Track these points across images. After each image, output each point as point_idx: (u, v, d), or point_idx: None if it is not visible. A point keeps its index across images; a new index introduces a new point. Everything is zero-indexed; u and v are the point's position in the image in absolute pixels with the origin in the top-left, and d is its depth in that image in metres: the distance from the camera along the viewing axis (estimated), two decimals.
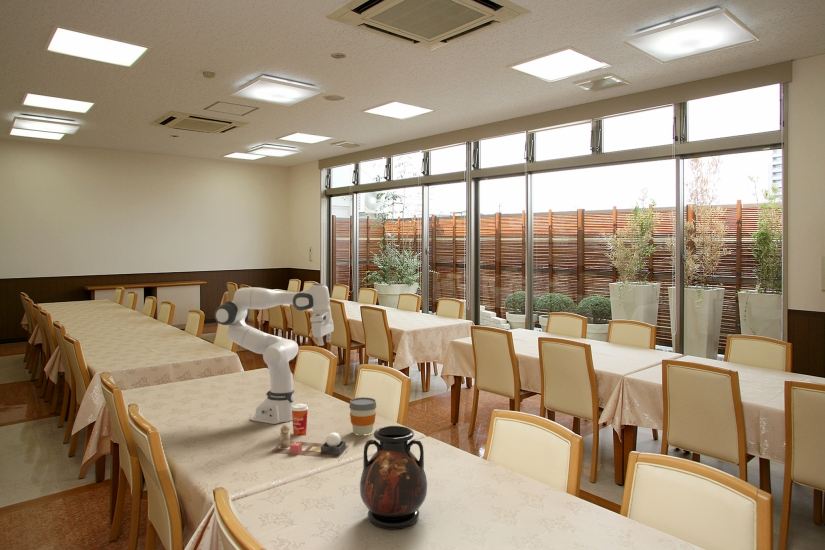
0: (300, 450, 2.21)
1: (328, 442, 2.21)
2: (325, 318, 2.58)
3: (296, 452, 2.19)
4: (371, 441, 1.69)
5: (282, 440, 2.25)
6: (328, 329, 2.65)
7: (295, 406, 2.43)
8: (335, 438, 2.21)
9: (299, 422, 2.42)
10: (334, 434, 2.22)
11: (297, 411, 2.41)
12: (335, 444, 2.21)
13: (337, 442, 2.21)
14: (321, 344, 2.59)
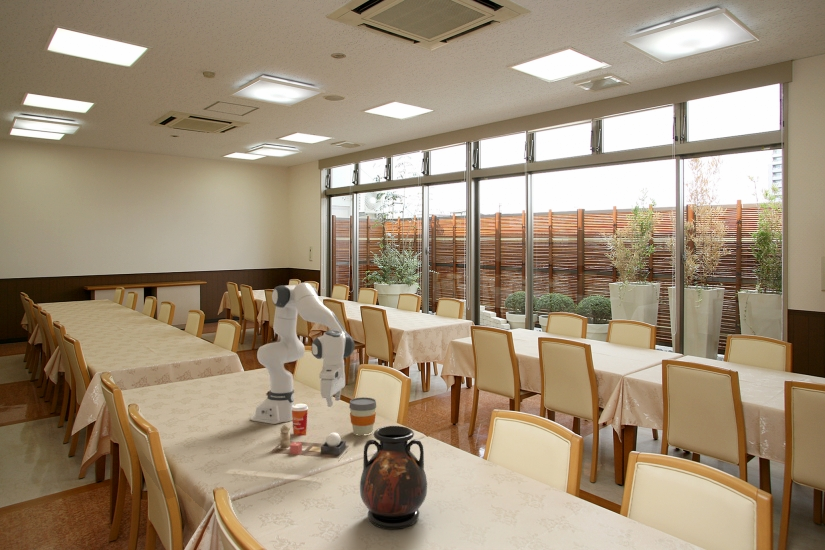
0: (300, 450, 2.21)
1: (328, 442, 2.21)
2: (337, 375, 2.16)
3: (296, 452, 2.19)
4: (371, 441, 1.69)
5: (282, 440, 2.25)
6: (339, 385, 2.23)
7: (295, 406, 2.43)
8: (335, 438, 2.21)
9: (299, 422, 2.42)
10: (334, 434, 2.22)
11: (297, 411, 2.41)
12: (335, 444, 2.21)
13: (337, 442, 2.21)
14: (330, 405, 2.17)
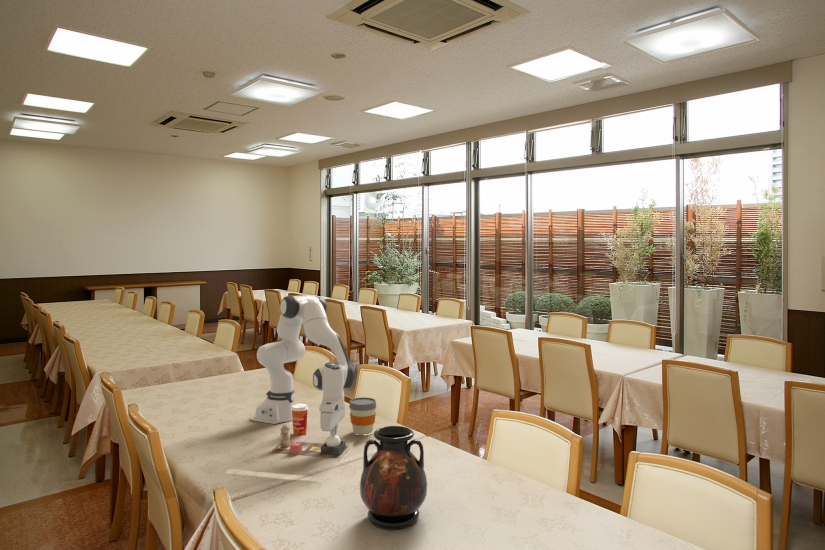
0: (300, 450, 2.21)
1: (328, 444, 2.21)
2: (337, 407, 2.17)
3: (296, 452, 2.19)
4: (371, 441, 1.69)
5: (282, 440, 2.25)
6: (338, 417, 2.24)
7: (295, 406, 2.43)
8: (335, 440, 2.21)
9: (299, 422, 2.42)
10: (334, 436, 2.22)
11: (297, 411, 2.41)
12: (335, 446, 2.21)
13: (337, 444, 2.21)
14: (332, 434, 2.21)
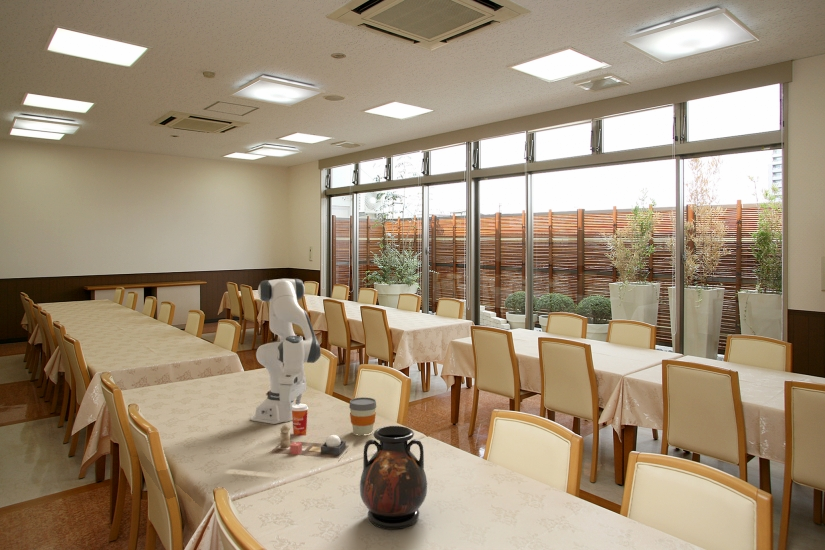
0: (300, 450, 2.21)
1: (328, 444, 2.21)
2: (296, 380, 2.20)
3: (296, 452, 2.19)
4: (371, 441, 1.69)
5: (282, 440, 2.25)
6: (299, 390, 2.27)
7: (295, 406, 2.43)
8: (335, 440, 2.21)
9: (299, 422, 2.42)
10: (334, 436, 2.22)
11: (297, 411, 2.41)
12: (335, 446, 2.21)
13: (337, 444, 2.21)
14: (289, 410, 2.21)
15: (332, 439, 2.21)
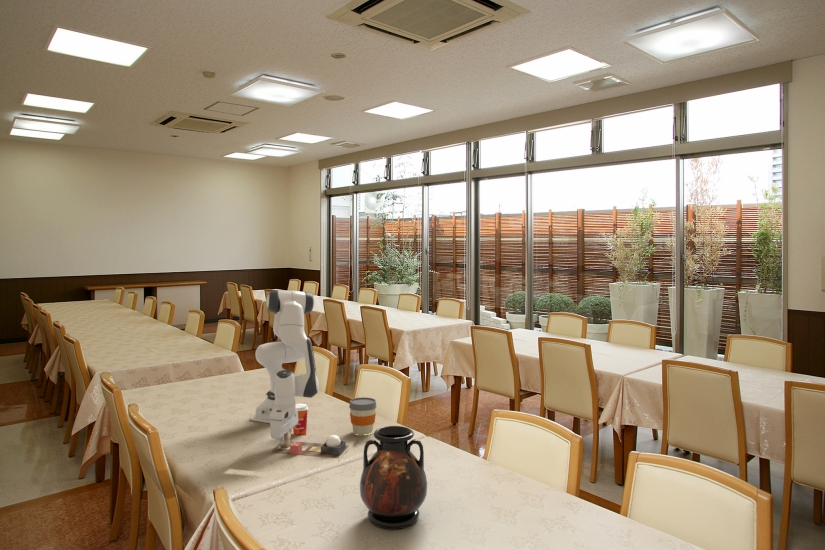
0: (300, 450, 2.21)
1: (328, 444, 2.21)
2: (287, 415, 2.21)
3: (296, 452, 2.19)
4: (371, 441, 1.69)
5: None
6: (290, 424, 2.28)
7: None
8: (335, 440, 2.21)
9: (299, 422, 2.42)
10: (334, 436, 2.22)
11: None
12: (335, 446, 2.21)
13: (337, 444, 2.21)
14: (282, 443, 2.24)
15: (332, 439, 2.21)
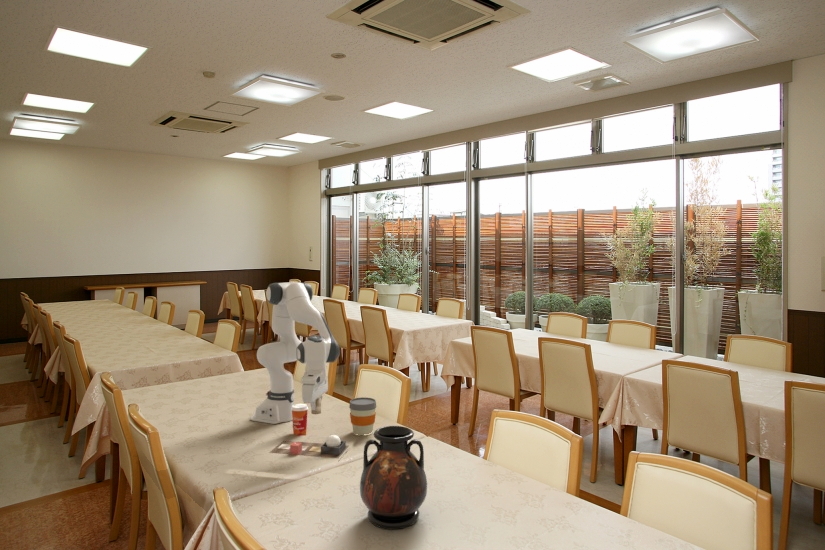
0: (300, 450, 2.21)
1: (328, 444, 2.21)
2: (319, 380, 2.18)
3: (296, 452, 2.19)
4: (371, 441, 1.69)
5: None
6: (321, 390, 2.25)
7: (295, 406, 2.43)
8: (335, 440, 2.21)
9: (299, 422, 2.42)
10: (334, 436, 2.22)
11: (297, 411, 2.41)
12: (335, 446, 2.21)
13: (337, 444, 2.21)
14: (313, 408, 2.20)
15: (332, 439, 2.21)
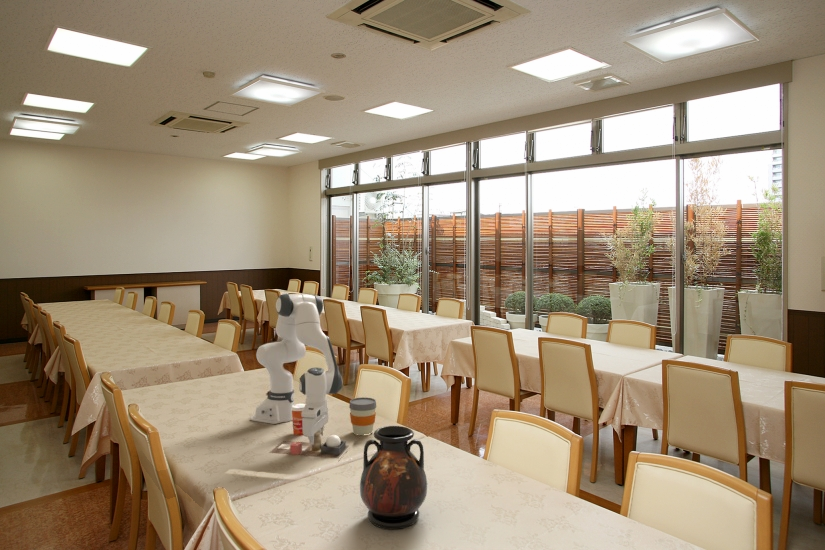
0: (300, 450, 2.21)
1: (328, 444, 2.21)
2: (319, 413, 2.18)
3: (296, 452, 2.19)
4: (371, 441, 1.69)
5: None
6: (321, 422, 2.25)
7: (295, 406, 2.43)
8: (335, 440, 2.21)
9: (299, 422, 2.42)
10: (334, 436, 2.22)
11: (297, 411, 2.41)
12: (335, 446, 2.21)
13: (337, 444, 2.21)
14: (311, 443, 2.19)
15: (332, 439, 2.21)
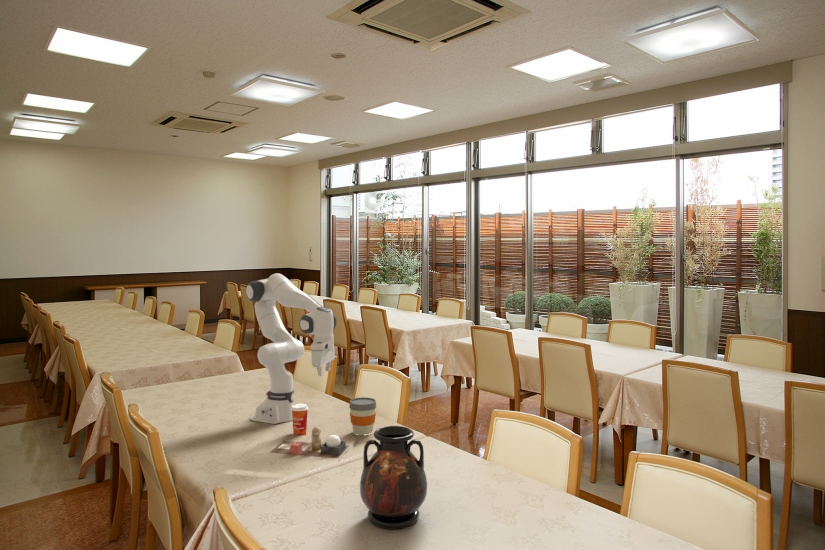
0: (300, 450, 2.21)
1: (328, 444, 2.21)
2: (327, 347, 2.37)
3: (296, 452, 2.19)
4: (371, 441, 1.69)
5: (313, 442, 2.23)
6: (328, 357, 2.44)
7: (295, 406, 2.43)
8: (335, 440, 2.21)
9: (299, 422, 2.42)
10: (334, 436, 2.22)
11: (297, 411, 2.41)
12: (335, 446, 2.21)
13: (337, 444, 2.21)
14: (320, 374, 2.38)
15: (332, 439, 2.21)
